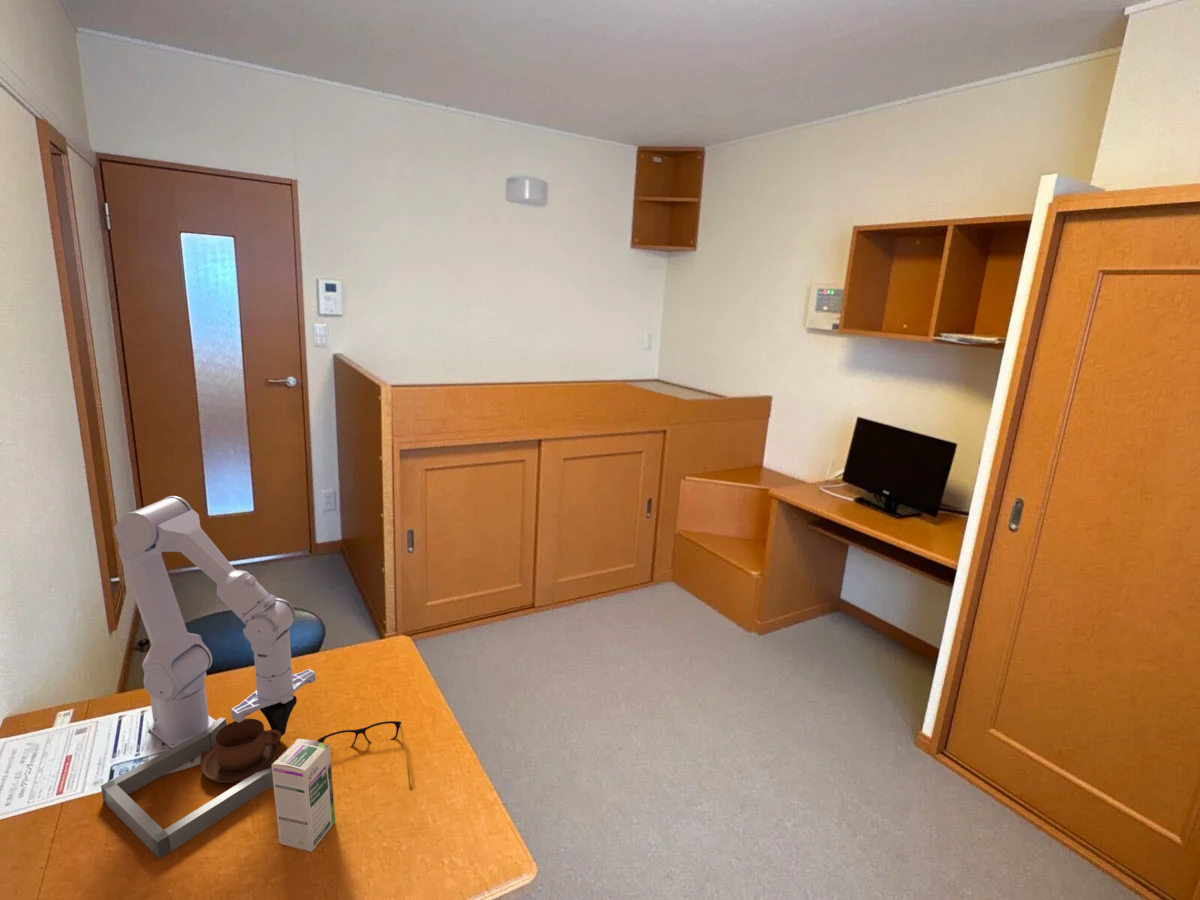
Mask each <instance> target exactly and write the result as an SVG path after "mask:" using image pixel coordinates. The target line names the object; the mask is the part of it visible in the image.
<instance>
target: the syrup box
mask: <svg viewBox="0 0 1200 900" xmlns="http://www.w3.org/2000/svg"><path fill="white" fill-rule="evenodd" d="M271 767H272V775H273V785H274V787H273V794H274V803H275V812H276V813H275V814H276V820H277V821H276V822H277V824H276V825H277V833H278V841H279V844H281V845H285V846H287V847H289V848H290V847H291V848H295V849H299V850H302V851H306V852H311V853H312V852H314V850H315V848H316V847H317V846H318V845H319V843H320V842H321V841H322V840H323V838H324V837H325V836H326V834H327V833H328V832H329V831H330V830H331V828H332V827H333V825H334V824H335V823H336V812H335V801H334V785H333V772H332V756H331V746H330V745H329V744H327V743H320V742H317V740H311V739H306V738H305V739H304V738H300V737H299V738H297V739H296V740H295V741H294V742H293V743H292V745H290V746H289V747H288V748H287V749H286V750H285V751H283V752H282V754H281V755H280V756H279V757H278V758H276V759H275V760H274V761H273V762H272V763H271Z"/></svg>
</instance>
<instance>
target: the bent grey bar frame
mask: <svg viewBox="0 0 1200 900" xmlns="http://www.w3.org/2000/svg"><path fill="white" fill-rule="evenodd" d="M226 725H228V724H227V718H225V717H219V718H217V719H216V721H215V722H214V723H213V724H212V725H211V726H210V727H209V728H208V729H207V730H206V731H204V732H202V733H200V734H198V735H196V736H194V737H192V738H191V739H189V740H187V741H185V742H183V743H181V744H179V745H177V746H175V747H173V748H170V749H168V750H166V751H164V752H162V753H161V754H159V755H156V756H154V757H152V758H151V759H149V760H147V761H145V762H143V763H141V764H140V765H137V766H135V767H134V768H132V769H131V770H128V771H126V772H124V773H123V774H121V775H119V776H117V777H115V778H113V779H111V780H109V781H107V782H105V783H104V784H102V785H100V789H101V790H100V791H101V795H102V801H103V803H104V804H105V805H106V806H107V807H108V808H109V809H110V810H111V811H112V812H113V813H114V814H115V815H116V816H117V817H118V818H119V819H120V820H121V821H122V823H124V825H126V826H127V827H128V828H129V829H130V830H131V832H133V834H135V836H136V837H137V838H139V840H140V841H141V842H142V843H143V844H144V845H145V846H146V847H147V848H148V849H149V850H150V851H151V852H152V853H153V854H154V855H155V856H156V858H158V859H159V860H161V859H162V858H164V857H165V856H167V855H168V854H170V853H171V852H173V851H174V850H176V849H177V848H179V847H180V846H183V845H184V844H185V843H186V842H188V841H190V840H192V839H193V838H194V837H196V836H197V835H199V834H200V833H202V832H203V831H206V829H208V828H210V827H211V826H213V825H214V824H216V823H218V822H219V821H220V820H222V819H223V818H225V817H226V816H229V814H231V813H232V812H234V811H235V810H237V809H239V808H240V807H242V806H243V805H245V804H246V803H248V802H249V801H251V800H252V799H254V798H255V797H257V796H259V795H260V794H261V793H263V792H264V791H267V790H269V789H274V785H273V775H272V766H271V767H267V768H265V769H264V770H262V771H260V772H256V773H255V774H253V775H251V776H250V777H248V778H247V779H244V780H241V781H239V783H236V785H234V786H232V787H231V788H229V789H228V790H225V791H224V792H222V793H221V794H219V795H217V796H216V797H215V798H212V799H211V800H210V801H208V802H206V803H205V804H203V805H201V806H200V807H198V808H196V809H195V810H193V811H192V812H190V813H189V814H187V815H186V816H184V817H183V818H181V819H179V820H177V821H175V822H174V823H172V824H171V825H170V826H168V827H166V828H165V829H163V828H162V827H161V826H160V825H159V824H158V823H157V821H155V820H154V819H153V818H152V817H151V816H150V814H148V813H147V812H146V811H145V810H144V809H143V808H142V807H141V806H139V804H137V803H136V801H134V800H133V798H132V797H130V796H129V795H130V794H132V793H134V792H135V791H137V790H139V789H141V788H143V787H145V786H146V785H148V784H150V783H151V782H153V781H156V780H157V779H159V778H160V777H161V778H162V777H163V776H164V775H166V774H168V773H169V772H171V771H173V770H175V769H177V768H179V767H180V766H182V765H184V764H186V763H188V762H190V761H191V760H193V759H195V758H197V757H199V756H201V755H202V754H205V753H206V752H207V751H208V750H209V749H210V748H211V747H212V746H214V745H215V736H216V734H217V733H218V731H219V730H220V729H222V728H223V727H224V726H226Z"/></svg>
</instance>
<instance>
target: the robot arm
mask: <svg viewBox="0 0 1200 900" xmlns="http://www.w3.org/2000/svg"><path fill="white" fill-rule="evenodd" d="M112 529H113V531H114V534H115V537H116V540H117V542H118V554H119V557H120V561H121V563H122V566H123V568H124V571H125V574H126V578H127V580H128V584H129V586H130V588H131V591H132V595H133V596H134V600H135V602H136V606H137V608H138V611H139V615H140V616H141V620H142V624H143V626H144V628H145V631H146V634H147V637H148V640H149V642H150V647H149V650H148V651H147V653H146V656H145V658H144V659H143V662H142V664H141V667H142V669H143V673H144V674H143V675H144V676H143V686H144V689H145V690H146V693H148V694H149V695H150V696H149V698H150V700H149V701H150V705H151V706H150V707H151V712H152V719H153V720H152V722H153V723H151V724H150V725H149V726H148V727H147V729H148V731H150V732H151V733H152V734H153V735H155V736H156V738H158V739H159V740H161V741H162V743H164V744H165V745H167V746H168V747H169V748H170V749H172V748H173V747H175V746H177V745H179V744H181V743H183V742H185V741H187V740H189V739H191V738H192V737H194V736H196V735H198V734H200V733H202V732H204V731H206V730H207V729H208V728H209V727H210V726H211V725H212V724H213V723H214V722H215V721H217V719H214V718H213V717H212V716H210V715H209V709H208V699H207V693H206V692H207V691H206V682H205V680H206V678H207V671H208V670H209V669H210V667H211V666H212V665H213V655H212V653H211V651H210V649H209V648H208V647H207V646H206V644H205V643H204V641H203V640H202V636H201V635H200V634H197V633H192V632H191V633H190V632H188V630H187V627H186V624H185V621H184V617H183V615H182V612H181V609H180V606H179V603H178V600H177V597H176V594H175V592H174V588H173V586H172V583H171V580H170V579H171V578H170V575H169V574H168V571H167V568H166V565H165V562H164V559H163V556H162V555H163V554H162V553H164V552H165V553H171V552H172V553H181V554H182V555H183V556H184V557H186V558H187V559H188V560H189V561H190V562H192V563H193V565H194V566H196V567H197V568H198V569H200V570H201V571H202V572H203V574H205V575H206V576H207V577H209V578H210V579H211V580H212V581H213V582H214V583H216V596H217V597H218V598H219V599H220V600H221V602H223V603H224V604H225V605H226V606H227V607H228V608H229V609H230V610H231V611H232V612H233V613H234V614H235V616H237V617H238V618H239V619H240V620H241V621H242V622H243V624H245V627H244V628H242V631H243V635H244V637H245V639H247V640H248V641H249V643H250V646H251V651H253V660H254V669H255V671H254V672H255V683H256V684H255V685H256V690H255V691H254V692H253V693H251V694H250V695H249V696H248V697H246V698H245V699H244V700H242V701H241V702H240V703H239V704H238V705H236V706H234V707H231V710H230V711H231V719H232V720H234V721H236V722H238V723H240V722H241V721H243V720H244V719H245V718H246V717H247V716H249V715H251V714H253V713H254V712H257V711H258V710H260V712H261V713H262V715H263V716H264V717H265V719H266V721H267V723H268V725H269V728H271V729H270V730H278V731H279V732H280V733H281V737H282V736H284V735H285V734H286V729H287V726H288V722H289V719H290V716H291V713H292V711H293V710H294V707H295V706H296V704H297V703H298V702H297V701H298V700H297V698H298V697H297V696H296V695H294V694H295V693H296V692H297V691H298V690H299V689H300V688H301V687H303V686H305V685H306V684H314V683H315V682H316V671H314V670H312V669H310V668H307V669H305V670H303V671H301V672H297V673H294V674H293V666H292V652H291V651H292V650H291V638H290V629H289V628H290V627H291V626H292V625H293V623H294V622H295V620H296V612H295V609H294V607H293V606H292V605H291V603H290V602H289V601H288V600H287V599H284V598H279V597H276V595H274V594H270V593H269V592H268V591H267V590H266V589H265V588H264V587H263V586H262V585H261V583H259V582H258V580H257V578H256V576H254V575H252V574H250V573H249V572H248V571H247V570H240V569H235V568H234V567H233V564H232V563H230V561H229V560H228V559H227V558H226V556H225V555H224V554H223V553H222V552H221V550H220V549H219V548H218V547H217V546H216V544H215V543H214V542H213V541H212V540H211V539H210V537H209V535H207V533H206V532H205V531H204V530H203V529H202V527H201V522H200V514H199V513H198V512H197V511H195V510H194V509H193V508H192V506H191V505H190V503H189V502H188V501H187V500H186V499H184V498H182V497H180V496H177V495H169V496H167V497H163V498H162V499H161V500H159V501H157V502H154V503H151V504H149V505H147V506H144V507H141V508H139V509H137V510H134V511H131V512H127V513H124V514H123V515H122V516H121V518H119V520H118V521H117V523H115V525H114V526H113V528H112ZM275 735H276V734H275ZM276 736H277V735H276Z"/></svg>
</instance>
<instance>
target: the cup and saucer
mask: <svg viewBox="0 0 1200 900" xmlns="http://www.w3.org/2000/svg"><path fill="white" fill-rule="evenodd" d="M275 734H276V735H277V736H276V735H275ZM281 738H282V736H281V733H280V732H279V731H278V730H272V729H269V730H268V729H267V730H265V726H264V723H263V722H262V721H261V720H259V719H256V718H244V720H243V721H241V722H240V723H238V722H236V721H235V720H234V721H231V722H229V723H228V724H227V725H226V726H224V727H223V728H222V729H220V730H219V731H218V733H217V734H216V736H215V745H214V746H212V747H211V748H210V749H209V750H208V751H206V752H205V753H204V755H203V757H202V759H201V760H200V761H201V762H200V770H201V773H202V774H203V776H204V778H206V779H207V780H210V781H212V782H216V783H217V782H218V783H236V782H241V781H243V780H245V779H247V778H248V777H250V776H251V775H253V774H255V773H256V772H259V773H260V771H262V770H265V769H268V768H269V766H271V765H272V764H273V763H274V762H275V761H276V759H277V757H278V756H279V753H280V750H281Z"/></svg>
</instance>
